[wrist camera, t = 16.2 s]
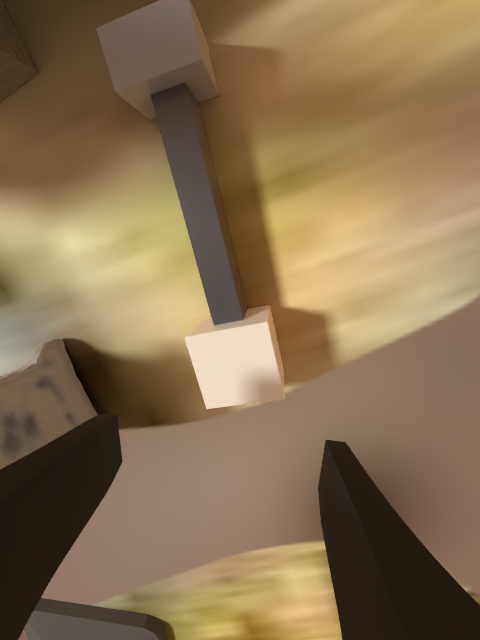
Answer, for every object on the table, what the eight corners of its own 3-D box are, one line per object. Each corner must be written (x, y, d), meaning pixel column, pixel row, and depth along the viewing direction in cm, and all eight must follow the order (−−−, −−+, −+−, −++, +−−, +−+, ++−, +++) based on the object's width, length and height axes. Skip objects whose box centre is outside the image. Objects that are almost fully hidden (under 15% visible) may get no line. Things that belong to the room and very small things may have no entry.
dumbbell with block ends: (218, 379, 17) (206, 408, 15) (130, 73, 13) (89, 30, 10) (284, 370, 17) (284, 399, 14) (213, 40, 12) (193, -15, 10)
